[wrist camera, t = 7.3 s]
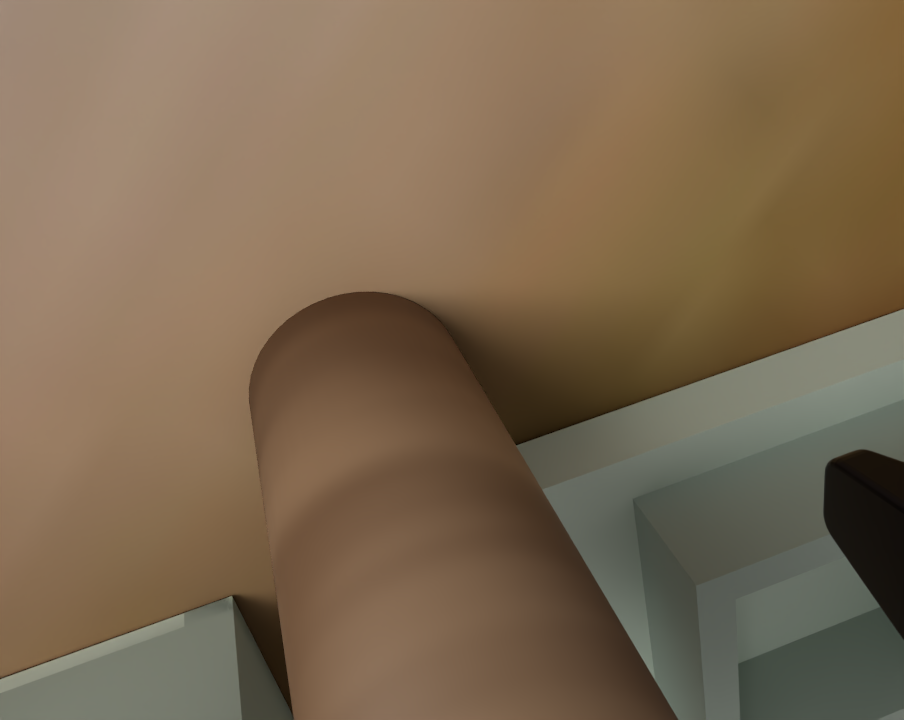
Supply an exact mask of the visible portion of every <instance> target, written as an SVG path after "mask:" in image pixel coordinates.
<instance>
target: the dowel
mask: <svg viewBox="0 0 904 720" xmlns="http://www.w3.org/2000/svg"><path fill="white" fill-rule="evenodd" d="M249 404H250V411H251V418H252V425H253V432H254V439H255V447H256V454H257V461H258V468H259V475H260V482H261V489H262V496H263V504H264V511H265V518H266V525H267V532H268V539H269V546H270V553H271V560H272V568H273V575H274V582H275V589H276V596H277V603H278V610H279V617H280V625H281V632H282V639H283V646H284V653H285V660H286V667H287V674H288V682H289V689H290V696H291V703H292V710H293V717H294V720H678V718H677V716H676V715H675V713H674V711H673V710H672V708H671V706H670V705H669V703H668V701H667V700H666V698H665V696H664V695H663V693H662V691H661V689H660V688H659V686H658V684H657V683H656V681H655V679H654V678H653V676H652V674H651V673H650V671H649V669H648V668H647V666H646V664H645V662H644V661H643V659H642V657H641V656H640V654H639V652H638V651H637V649H636V647H635V646H634V644H633V642H632V641H631V639H630V637H629V635H628V634H627V632H626V630H625V629H624V627H623V625H622V624H621V622H620V620H619V619H618V617H617V615H616V614H615V612H614V610H613V608H612V607H611V605H610V603H609V602H608V600H607V598H606V597H605V595H604V593H603V592H602V590H601V588H600V587H599V585H598V583H597V581H596V580H595V578H594V576H593V575H592V573H591V571H590V570H589V568H588V566H587V565H586V563H585V561H584V559H583V558H582V556H581V554H580V553H579V551H578V549H577V548H576V546H575V544H574V543H573V541H572V539H571V538H570V536H569V534H568V532H567V531H566V529H565V527H564V526H563V524H562V522H561V521H560V519H559V517H558V516H557V514H556V512H555V511H554V509H553V507H552V505H551V504H550V502H549V500H548V499H547V497H546V495H545V494H544V492H543V490H542V489H541V487H540V485H539V484H538V482H537V480H536V478H535V477H534V475H533V473H532V472H531V470H530V468H529V467H528V465H527V463H526V462H525V460H524V458H523V457H522V455H521V453H520V451H519V450H518V448H517V446H516V445H515V443H514V441H513V440H512V438H511V436H510V435H509V433H508V431H507V429H506V428H505V426H504V424H503V423H502V421H501V419H500V418H499V416H498V414H497V413H496V411H495V409H494V408H493V406H492V404H491V402H490V401H489V399H488V397H487V396H486V394H485V392H484V391H483V389H482V387H481V386H480V384H479V382H478V381H477V379H476V377H475V375H474V374H473V372H472V370H471V369H470V367H469V365H468V364H467V362H466V360H465V359H464V357H463V355H462V354H461V352H460V350H459V348H458V347H457V345H456V343H455V342H454V340H453V338H452V337H451V335H450V333H449V332H448V331H447V329H446V328H445V327H444V325H443V324H442V323H441V322H440V321H439V320H438V319H437V318H436V317H435V316H434V315H433V314H431V313H430V312H429V311H427V310H426V309H425V308H423V307H421V306H420V305H418V304H416V303H414V302H412V301H410V300H407V299H404V298H402V297H399V296H394V295H390V294H385V293H376V292H356V293H348V294H342V295H338V296H334V297H330V298H327V299H324V300H322V301H319V302H317V303H314V304H312V305H310V306H309V307H307V308H305V309H303V310H301V311H300V312H298V313H297V314H295V315H294V316H292V317H291V318H289V319H288V320H287V321H286V322H285V323H284V324H283V325H281V326H280V327H279V328H278V329H277V330H276V331H275V333H274V334H273V335H272V336H271V337H270V338H269V339H268V341H267V342H266V344H265V346H264V347H263V349H262V350H261V352H260V354H259V356H258V358H257V360H256V362H255V365H254V368H253V371H252V374H251V379H250V386H249Z"/></svg>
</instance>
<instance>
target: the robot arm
mask: <svg viewBox="0 0 904 720" xmlns="http://www.w3.org/2000/svg"><path fill="white" fill-rule="evenodd" d="M823 517H824V521H825V524H826V527H827V529H828V531H829V533H830V535H831V537H832V538H833V540H834V541H835V542H836V544H837V545H838V547H839V548H840V550H841V551H842V553H843V554H844V555H845V557H846V558H847V560H848V561H849V563H850V564H851V566H852V567H853V568H854V570H855V571H856V573H857V574H858V576H859V577H860V579H861V580H862V581H863V583H864V584H865V586H866V587H867V589H868V590H869V591H870V593H871V594H872V596H873V597H874V599H875V600H876V602H877V603H878V604H879V606H880V607H881V609H882V610H883V612H884V613H885V615H886V616H887V617H888V619H889V620H890V622H891V623H892V625H893V626H894V628H895V629H896V630H897V632H898V633H899V635H900V636H901V637H902V639H903V640H904V462H903V461H900V460H897V459H894V458H891V457H888V456H886V455H883V454H880V453H877V452H874V451H871V450H866V449H858V450H854V451H852V452H849V453H846V454H843V455H841V456H838V457H835V458H833V459H831V460H830V461H829V462H828V463H827V465H826V467H825V475H824V502H823Z"/></svg>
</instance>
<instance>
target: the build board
mask: <svg viewBox="0 0 904 720" xmlns="http://www.w3.org/2000/svg"><path fill="white" fill-rule="evenodd" d="M516 446H517V448H518V450H519V451H520V453H521V455H522V457H523V458H524V460H525V462H526V463H527V465H528V467H529V468H530V470H531V472H532V473H533V475H534V477H535V478H536V480H537V482H538V484H539V485H540V487H541V489H542V490H543V492H544V494H545V495H546V497H547V499H548V500H549V502H550V504H551V505H552V507H553V509H554V511H555V512H556V514H557V516H558V517H559V519H560V521H561V522H562V524H563V526H564V527H565V529H566V531H567V532H568V534H569V536H570V538H571V539H572V541H573V543H574V544H575V546H576V548H577V549H578V551H579V553H580V554H581V556H582V558H583V559H584V561H585V563H586V565H587V566H588V568H589V570H590V571H591V573H592V575H593V576H594V578H595V580H596V581H597V583H598V585H599V587H600V588H601V590H602V592H603V593H604V595H605V597H606V598H607V600H608V602H609V603H610V605H611V607H612V608H613V610H614V612H615V614H616V615H617V617H618V619H619V620H620V622H621V624H622V625H623V627H624V629H625V630H626V632H627V634H628V635H629V637H630V639H631V641H632V642H633V644H634V646H635V647H636V649H637V651H638V652H639V654H640V656H641V657H642V659H643V661H644V662H645V664H646V666H647V668H648V669H649V671H650V673H651V674H652V676H653V678H654V679H655V681H656V683H657V684H658V686H659V688H660V689H661V691H662V693H663V695H664V696H665V698H666V700H667V701H668V703H669V705H670V706H671V708H672V710H673V711H674V713H675V715H676V716H677V718H678V720H904V640H903V639H902V637H901V636H900V635H899V633H898V632H897V630H896V629H895V628H894V626H893V625H892V623H891V622H890V620H889V619H888V617H887V616H886V615H885V613H884V612H883V610H882V609H881V607H880V606H879V604H878V603H877V602H876V600H875V599H874V597H873V596H872V594H871V593H870V591H869V590H868V589H867V587H866V586H865V584H864V583H863V581H862V580H861V579H860V577H859V576H858V574H857V573H856V571H855V570H854V568H853V567H852V566H851V564H850V563H849V561H848V560H847V558H846V557H845V555H844V554H843V553H842V551H841V550H840V548H839V547H838V545H837V544H836V542H835V541H834V540H833V538H832V537H831V535H830V533H829V531H828V529H827V527H826V524H825V521H824V517H823V502H824V475H825V467H826V465H827V463H828V462H829V461H830V460H831V459H833V458H835V457H838V456H841V455H843V454H846V453H849V452H852V451H854V450H858V449H866V450H871V451H874V452H877V453H880V454H883V455H886V456H888V457H891V458H894V459H897V460H900V461H903V462H904V309H902V310H900V311H897V312H894V313H891V314H888V315H885V316H883V317H880V318H877V319H874V320H871V321H868V322H866V323H863V324H860V325H857V326H854V327H851V328H848V329H846V330H843V331H840V332H837V333H834V334H831V335H829V336H826V337H823V338H820V339H817V340H814V341H812V342H809V343H806V344H803V345H800V346H797V347H795V348H792V349H789V350H786V351H783V352H780V353H777V354H775V355H772V356H769V357H766V358H763V359H760V360H758V361H755V362H752V363H749V364H746V365H743V366H741V367H738V368H735V369H732V370H729V371H726V372H724V373H721V374H718V375H715V376H712V377H709V378H706V379H704V380H701V381H698V382H695V383H692V384H689V385H687V386H684V387H681V388H678V389H675V390H672V391H670V392H667V393H664V394H661V395H658V396H655V397H653V398H650V399H647V400H644V401H641V402H638V403H635V404H633V405H630V406H627V407H624V408H621V409H618V410H616V411H613V412H610V413H607V414H604V415H601V416H599V417H596V418H593V419H590V420H587V421H584V422H581V423H579V424H576V425H573V426H570V427H567V428H564V429H562V430H559V431H556V432H553V433H550V434H547V435H545V436H542V437H539V438H536V439H533V440H530V441H528V442H525V443H522V444H519V445H516Z"/></svg>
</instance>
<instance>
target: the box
mask: <svg viewBox="0 0 904 720" xmlns="http://www.w3.org/2000/svg"><path fill="white" fill-rule="evenodd" d="M0 720H294V717H293V715H292V713H291V711H290V709H289V707H288V705H287V703H286V701H285V699H284V697H283V695H282V693H281V691H280V689H279V687H278V685H277V683H276V681H275V679H274V677H273V675H272V673H271V672H270V670H269V668H268V666H267V664H266V662H265V660H264V658H263V656H262V654H261V652H260V650H259V648H258V646H257V644H256V642H255V640H254V638H253V636H252V634H251V632H250V630H249V628H248V626H247V624H246V622H245V620H244V618H243V616H242V614H241V613H240V611H239V609H238V607H237V605H236V603H235V601H234V599H233V597H232V596H230V597H227V598H225V599H222V600H219V601H216V602H214V603H211V604H208V605H205V606H202V607H200V608H197V609H194V610H191V611H189V612H186V613H183V614H180V615H177V616H175V617H172V618H169V619H166V620H164V621H161V622H158V623H155V624H152V625H150V626H147V627H144V628H141V629H138V630H136V631H133V632H130V633H127V634H125V635H122V636H119V637H116V638H113V639H111V640H108V641H105V642H102V643H100V644H97V645H94V646H91V647H88V648H86V649H83V650H80V651H77V652H75V653H72V654H69V655H66V656H63V657H61V658H58V659H55V660H52V661H49V662H47V663H44V664H41V665H38V666H36V667H33V668H30V669H27V670H24V671H22V672H19V673H16V674H13V675H11V676H8V677H5V678H2V679H0Z"/></svg>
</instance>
